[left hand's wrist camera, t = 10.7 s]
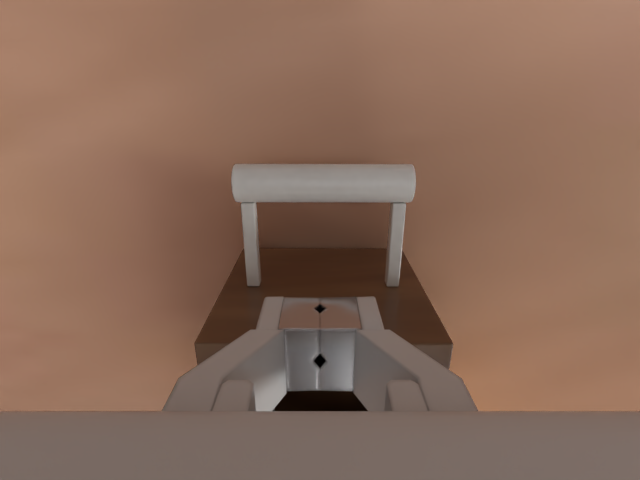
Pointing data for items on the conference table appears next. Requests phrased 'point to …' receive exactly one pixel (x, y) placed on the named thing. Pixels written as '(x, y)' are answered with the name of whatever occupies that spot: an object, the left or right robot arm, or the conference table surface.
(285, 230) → the conference table surface
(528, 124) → the conference table surface
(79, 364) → the conference table surface
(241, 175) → the drawer
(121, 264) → the conference table surface
